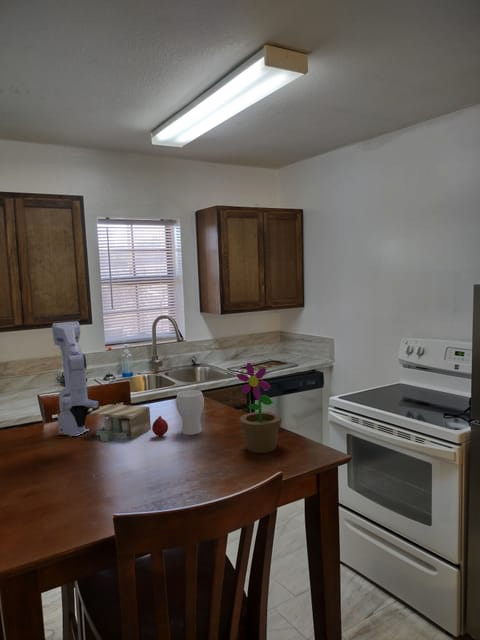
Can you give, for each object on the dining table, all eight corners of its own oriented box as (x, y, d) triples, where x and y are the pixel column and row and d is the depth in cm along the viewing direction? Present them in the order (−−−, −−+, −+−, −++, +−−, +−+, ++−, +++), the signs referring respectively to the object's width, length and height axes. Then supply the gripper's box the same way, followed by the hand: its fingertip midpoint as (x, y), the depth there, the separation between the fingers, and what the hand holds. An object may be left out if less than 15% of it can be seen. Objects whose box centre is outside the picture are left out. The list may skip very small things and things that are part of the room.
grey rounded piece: (103, 432, 177) (102, 421, 177) (105, 429, 181) (104, 418, 180) (112, 431, 177) (111, 420, 177) (114, 429, 181) (113, 418, 181)
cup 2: (204, 435, 170) (201, 396, 168) (175, 437, 170) (173, 397, 169) (206, 426, 180) (204, 389, 179) (180, 427, 180) (177, 390, 179)
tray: (88, 439, 172) (87, 422, 171) (109, 428, 184) (108, 412, 184) (120, 442, 167) (119, 424, 166) (139, 430, 180) (138, 414, 179)
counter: (91, 435, 176) (89, 413, 175) (110, 425, 187) (109, 404, 186) (133, 439, 169) (132, 416, 168) (150, 429, 180) (149, 406, 179)
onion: (160, 440, 167) (158, 419, 166) (149, 437, 170) (148, 417, 169) (171, 435, 171) (170, 415, 171) (161, 433, 175) (159, 412, 174)
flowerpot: (233, 451, 153) (228, 363, 150) (252, 437, 166) (248, 356, 163) (272, 457, 146) (268, 365, 143) (288, 442, 159) (285, 357, 156)
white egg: (120, 433, 176) (119, 421, 175) (126, 430, 179) (126, 419, 178) (126, 434, 174) (126, 422, 174) (133, 431, 177) (132, 420, 177)
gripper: (53, 390, 159) (56, 428, 160) (87, 392, 154) (90, 431, 155) (67, 385, 165) (70, 422, 167) (100, 387, 160) (103, 424, 162)
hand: (81, 426), depth 161 cm, fingers closed
